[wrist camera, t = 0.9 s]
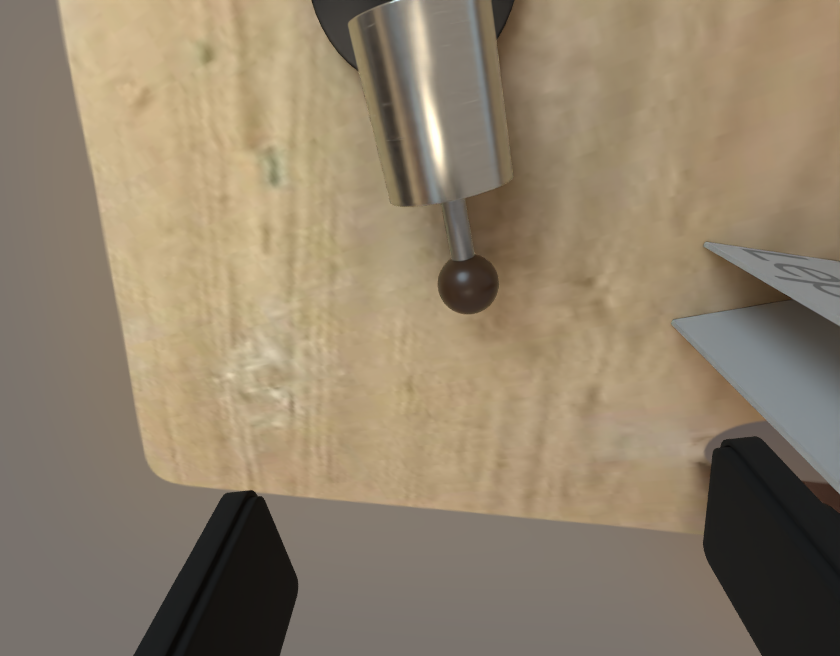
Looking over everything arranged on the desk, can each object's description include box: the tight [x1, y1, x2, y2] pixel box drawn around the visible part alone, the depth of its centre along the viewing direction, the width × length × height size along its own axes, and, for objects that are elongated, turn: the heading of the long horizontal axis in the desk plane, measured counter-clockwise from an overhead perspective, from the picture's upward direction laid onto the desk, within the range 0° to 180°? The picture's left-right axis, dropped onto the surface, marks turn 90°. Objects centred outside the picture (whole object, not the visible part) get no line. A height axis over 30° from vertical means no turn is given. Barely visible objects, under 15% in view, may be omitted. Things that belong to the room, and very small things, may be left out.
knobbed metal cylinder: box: [348, 0, 513, 314], centre depth 22 cm, size 17×6×6 cm, turn 12°
